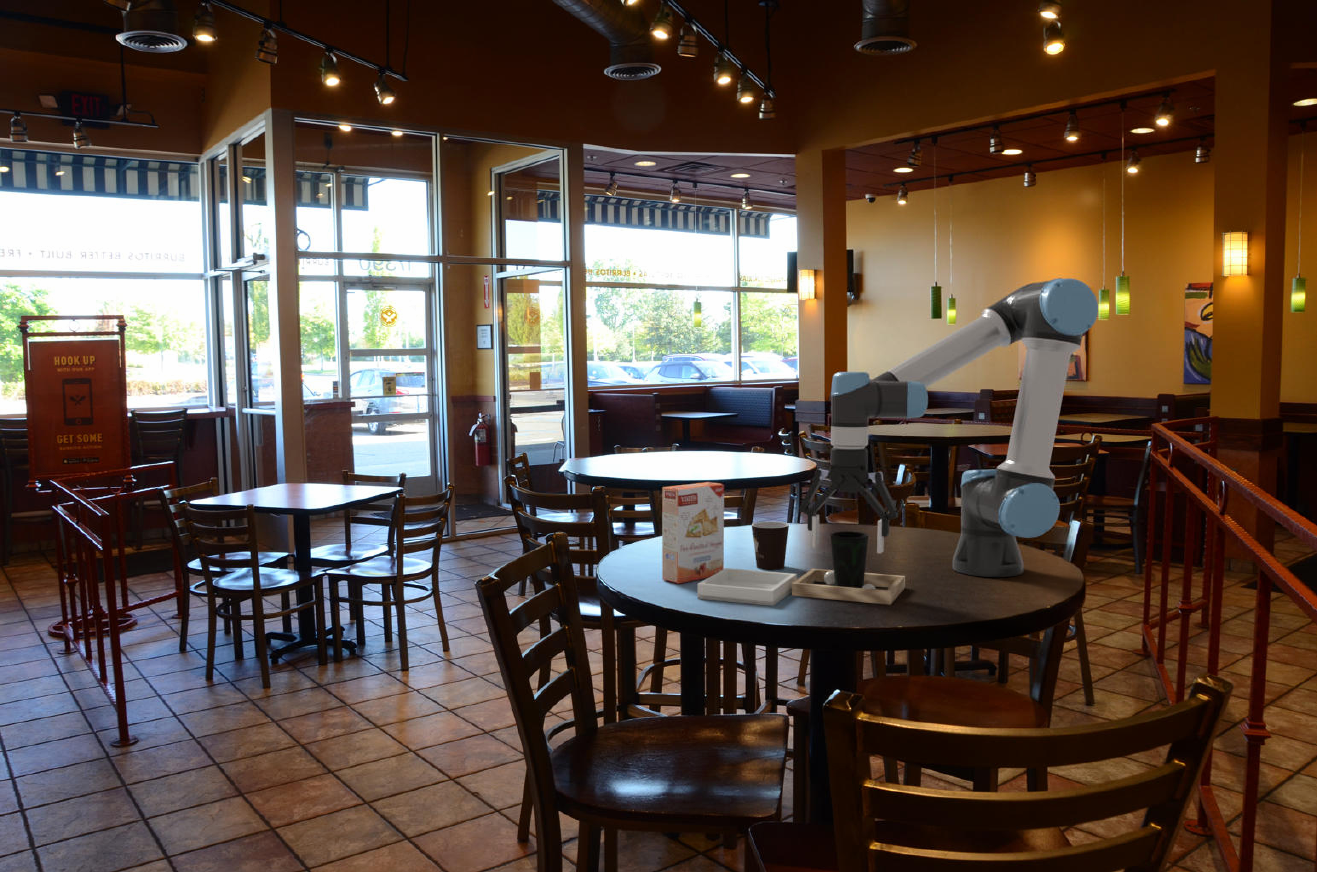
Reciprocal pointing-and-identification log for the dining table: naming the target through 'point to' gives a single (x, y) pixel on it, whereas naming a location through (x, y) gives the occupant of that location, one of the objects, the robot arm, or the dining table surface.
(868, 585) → the pebble
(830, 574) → the pebble
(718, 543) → the cracker box
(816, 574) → the frame
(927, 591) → the dining table surface
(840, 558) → the cup
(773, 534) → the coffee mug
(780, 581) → the bin
